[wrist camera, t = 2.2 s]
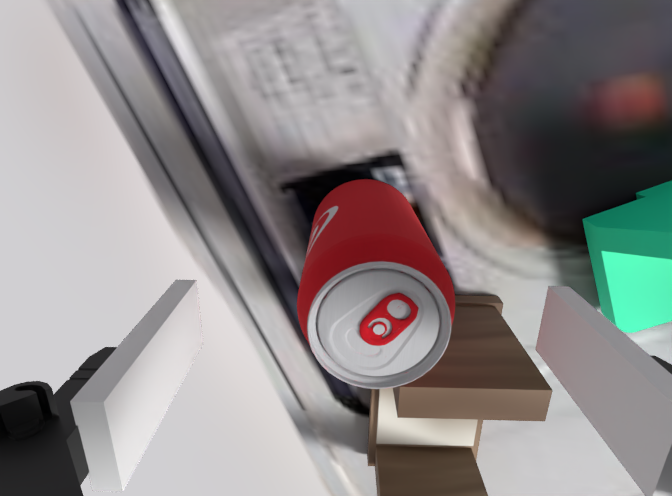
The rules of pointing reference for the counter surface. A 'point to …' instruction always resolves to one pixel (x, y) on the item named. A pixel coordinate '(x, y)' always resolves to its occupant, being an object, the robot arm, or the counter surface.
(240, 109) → the counter surface
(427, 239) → the beverage can
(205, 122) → the counter surface
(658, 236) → the camera mount
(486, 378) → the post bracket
